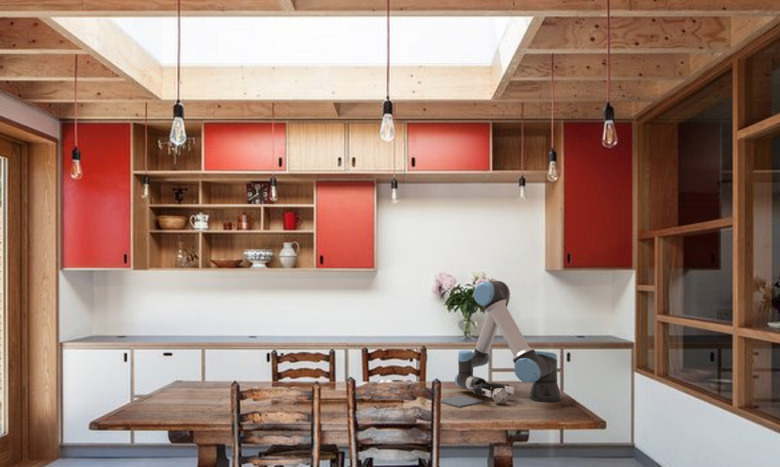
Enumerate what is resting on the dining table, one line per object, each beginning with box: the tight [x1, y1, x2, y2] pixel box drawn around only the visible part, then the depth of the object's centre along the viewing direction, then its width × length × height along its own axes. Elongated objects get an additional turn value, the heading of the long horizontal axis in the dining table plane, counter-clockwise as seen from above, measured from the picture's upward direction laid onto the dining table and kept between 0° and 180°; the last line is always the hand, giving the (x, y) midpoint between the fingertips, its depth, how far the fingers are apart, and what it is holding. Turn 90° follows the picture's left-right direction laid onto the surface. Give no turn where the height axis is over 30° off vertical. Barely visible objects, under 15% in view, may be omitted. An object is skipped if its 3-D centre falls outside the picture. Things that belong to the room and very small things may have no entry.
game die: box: [489, 387, 511, 406], centre depth 301 cm, size 9×8×10 cm
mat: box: [440, 395, 484, 409], centre depth 305 cm, size 16×16×1 cm
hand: (502, 392), depth 299 cm, fingers open, 13 cm apart
